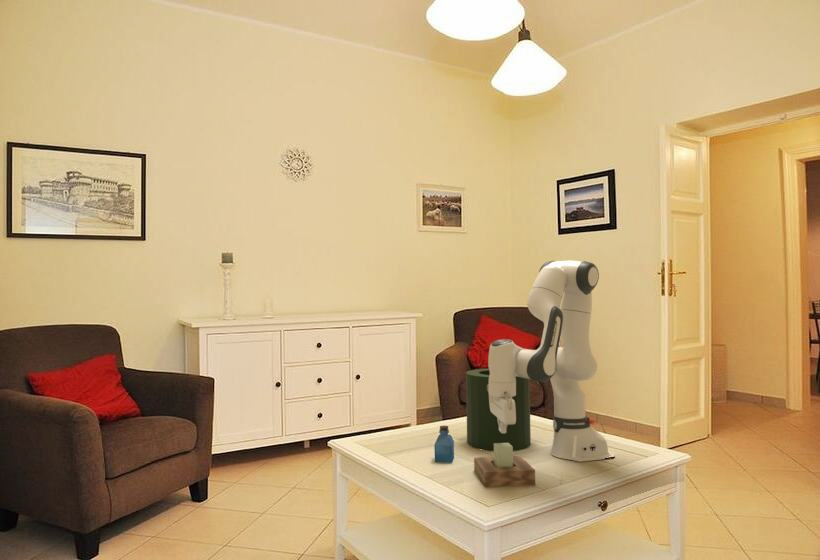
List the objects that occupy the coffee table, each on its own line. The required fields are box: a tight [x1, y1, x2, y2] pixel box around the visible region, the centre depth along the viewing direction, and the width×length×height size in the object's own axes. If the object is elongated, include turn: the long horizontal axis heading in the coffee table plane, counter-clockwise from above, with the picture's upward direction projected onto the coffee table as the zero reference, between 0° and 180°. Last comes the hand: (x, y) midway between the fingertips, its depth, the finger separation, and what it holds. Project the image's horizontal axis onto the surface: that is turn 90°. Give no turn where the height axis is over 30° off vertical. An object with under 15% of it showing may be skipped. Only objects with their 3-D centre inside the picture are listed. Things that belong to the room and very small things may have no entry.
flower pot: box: [465, 368, 532, 452], centre depth 228 cm, size 25×25×28 cm
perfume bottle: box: [434, 425, 455, 464], centre depth 205 cm, size 6×6×12 cm
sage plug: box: [493, 443, 514, 467], centre depth 185 cm, size 5×5×9 cm
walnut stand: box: [473, 455, 536, 488], centre depth 185 cm, size 16×16×4 cm
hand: (502, 432), depth 185 cm, fingers closed
